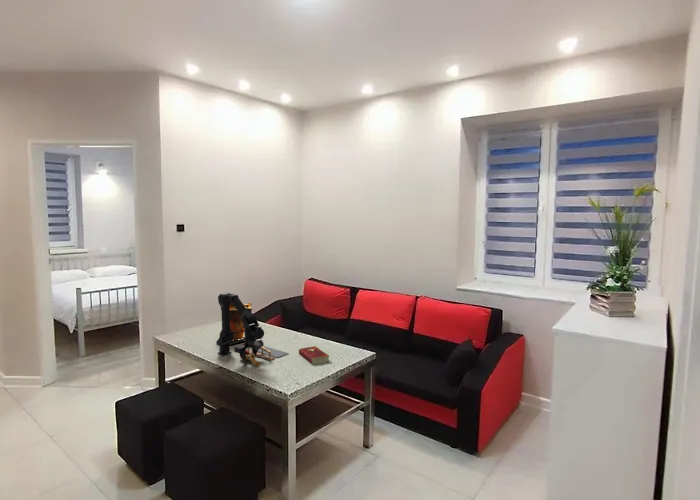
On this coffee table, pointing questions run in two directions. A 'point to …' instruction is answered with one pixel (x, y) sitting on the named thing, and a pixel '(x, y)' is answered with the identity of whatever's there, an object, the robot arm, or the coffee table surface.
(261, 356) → the tan wooden frame
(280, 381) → the coffee table surface
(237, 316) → the decorative vase
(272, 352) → the mat
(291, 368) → the coffee table surface
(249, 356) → the kendama
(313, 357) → the hardcover book
